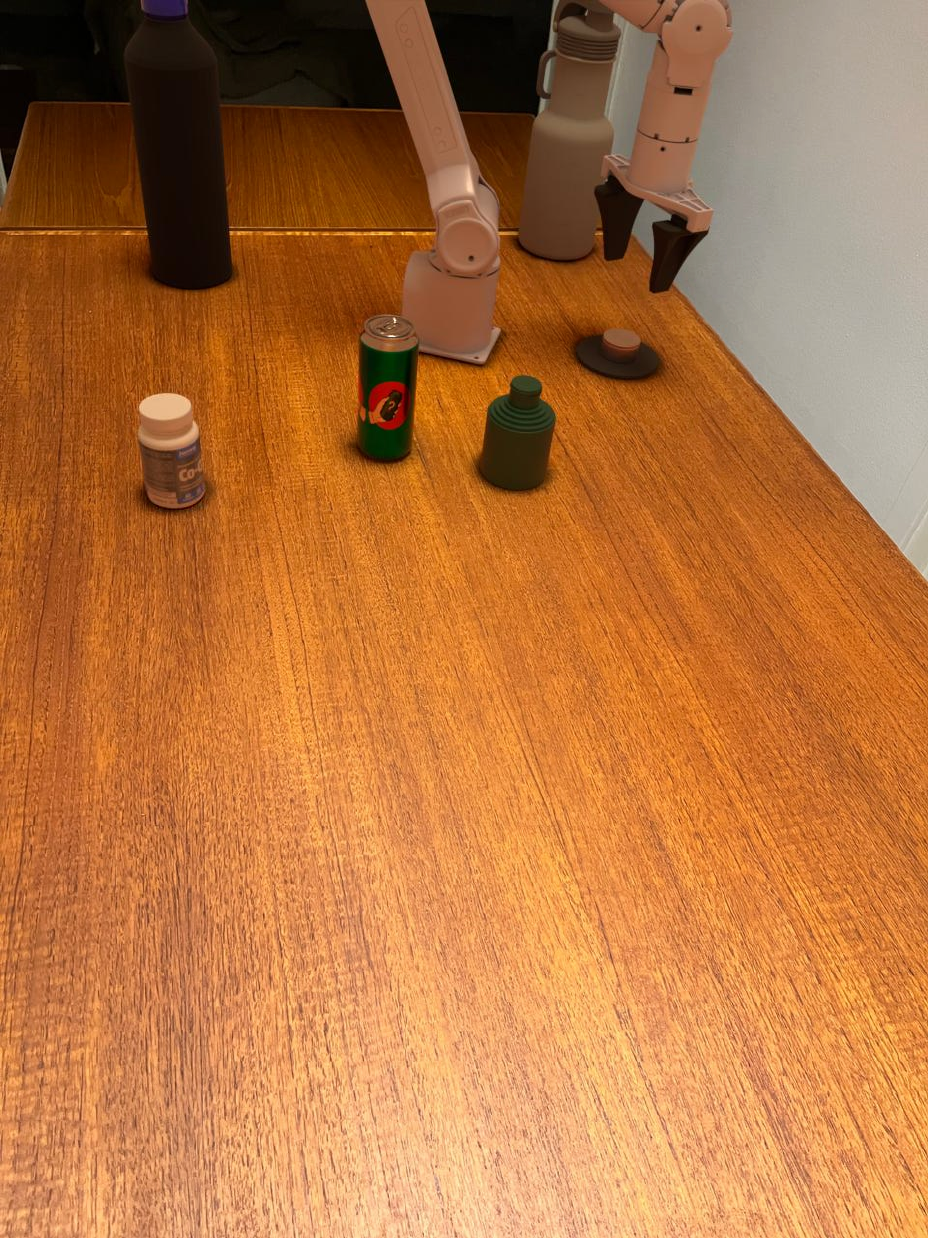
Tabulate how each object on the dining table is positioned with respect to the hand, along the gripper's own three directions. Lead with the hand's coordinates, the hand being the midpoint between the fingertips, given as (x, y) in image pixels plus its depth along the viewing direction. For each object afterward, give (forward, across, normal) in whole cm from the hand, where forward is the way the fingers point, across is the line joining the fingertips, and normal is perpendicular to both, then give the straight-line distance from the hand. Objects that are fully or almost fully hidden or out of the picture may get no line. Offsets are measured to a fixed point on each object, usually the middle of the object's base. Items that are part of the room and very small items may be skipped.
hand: (635, 274), depth 99 cm
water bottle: (+10, +27, -10) cm, 30 cm away
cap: (+7, 0, 0) cm, 7 cm away
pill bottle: (+10, -5, +50) cm, 51 cm away
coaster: (+9, 0, 0) cm, 9 cm away
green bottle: (+9, -13, +22) cm, 27 cm away
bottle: (+10, +34, +35) cm, 50 cm away
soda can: (+10, -6, +31) cm, 33 cm away
